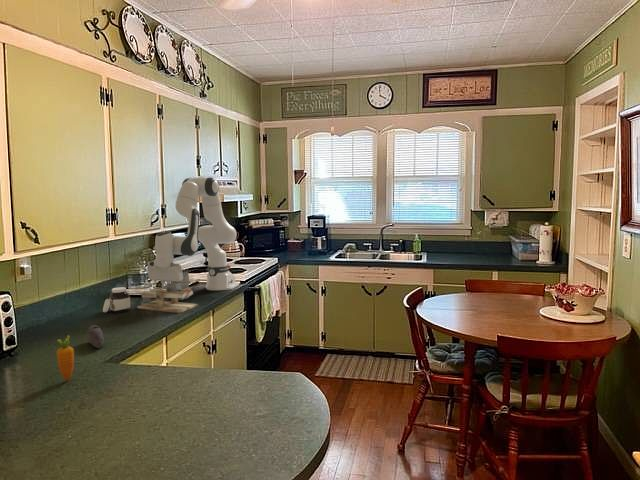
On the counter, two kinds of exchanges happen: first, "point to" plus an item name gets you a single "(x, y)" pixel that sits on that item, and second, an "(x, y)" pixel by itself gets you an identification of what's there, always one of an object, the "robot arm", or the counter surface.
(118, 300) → the spread jar
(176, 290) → the block
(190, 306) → the pivot stand
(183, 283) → the coffee box
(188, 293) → the beige long grooved bar
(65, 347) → the carrot
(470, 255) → the counter surface
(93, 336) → the perforated stone tool
